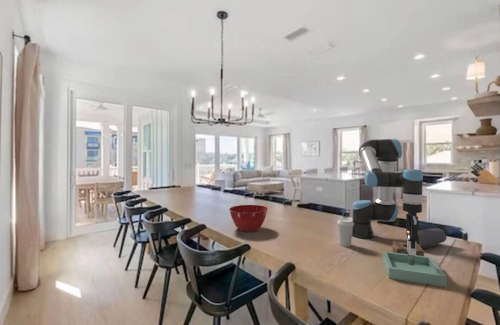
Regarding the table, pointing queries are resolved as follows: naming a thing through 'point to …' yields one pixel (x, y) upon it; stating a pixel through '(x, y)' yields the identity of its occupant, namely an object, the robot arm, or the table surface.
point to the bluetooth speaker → (430, 237)
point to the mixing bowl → (248, 216)
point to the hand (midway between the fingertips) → (411, 253)
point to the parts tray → (414, 269)
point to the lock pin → (410, 257)
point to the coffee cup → (345, 231)
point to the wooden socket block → (405, 248)
